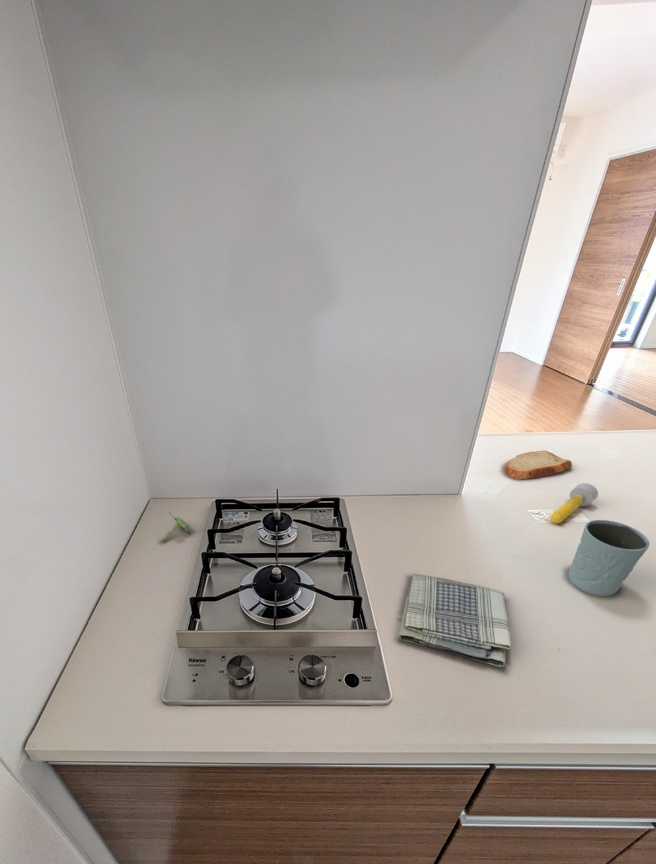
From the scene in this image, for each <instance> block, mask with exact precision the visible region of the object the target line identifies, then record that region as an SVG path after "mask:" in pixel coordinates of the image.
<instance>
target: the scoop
mask: <svg viewBox="0 0 656 864" xmlns="http://www.w3.org/2000/svg"><path fill="white" fill-rule="evenodd" d="M598 496H599V491H598V489H597V488H596V486H594V485H593V484H591V483H588V482H582V483H580V484H577V485H576V486H575V487H574V488H573V489H571V491H570V493H569V498H570V499H569V500H567V501H566V502H565V503H564V504H563V505H561V507H559V508H557V510H555V511H554V512H553V513H552V514H551V515H550V518H549V519H550V521H551V522H552V523H553V524H556V525H557V524H561V523H562V522H563V521H564V520H565V519H567V518H568V517H569V516H570V515H571V514H572V513H574V511H575V510H577V509H578V508H579V507H587V506H590V505H591V504H592V503H593V502H594V501H595V500H597V498H598Z"/></svg>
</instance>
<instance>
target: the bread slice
mask: <svg viewBox="0 0 656 864" xmlns="http://www.w3.org/2000/svg"><path fill="white" fill-rule="evenodd" d="M571 467H573V463H572V461H571V460H570V459H564V458H562V457H560V456H558V455H556V454H554V453H552V452H551V451H548V450H536V451H528V452H524V453H519V454H517V455H516V456H515V457H513V458H512V459H510V460H508V461H507V463H506V464H505V466H504V473H505V474H506V475H507V476H508V477H509V478H511V479H514V480H519V481H520V480H527V479H528V480H531V479H537V478H541V477H547V476H549V475H550V476H551V475H554V474H560V473H561V472H563V471H566V470H568V469H570V468H571Z"/></svg>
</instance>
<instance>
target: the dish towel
mask: <svg viewBox="0 0 656 864" xmlns="http://www.w3.org/2000/svg"><path fill="white" fill-rule="evenodd" d="M410 579H411V580H410V583H409V587H408V591H407V595H406V599H405V604H404V607H403V611H402V612H403V613H402V617H401V621H400V624H399V625H400V626H399V633H398V637H399V639H400V641H402V642H406V643H407V642H408V643H412V644H415V645H417V646H423V647H426V648H433V649H436V650H439V651H443V652H445V653H447V654H451V655H457V656H461V657H463V658H468V659H471V660H474V661H476V662H480V663H483V664H487V665H491V666H494V667H497V668H505V667H506V659H507V658H506V656H507V655H506V650H507V651H508V650H509V651H510V650H511V649H512V639H511V632H510V627H509V617H508V614H507V607H506V601H505V595H506V594H505V592H504V591H502V590H497V589H495V588H491V587H486V586H483V585H482V586H481V585H477V584H471V583H467V582H462V581H459V580H453V579H449V578H443V577H437V576H432V575H425V574H419V573H412V574H411V577H410Z"/></svg>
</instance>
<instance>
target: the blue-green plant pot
mask: <svg viewBox="0 0 656 864" xmlns="http://www.w3.org/2000/svg"><path fill="white" fill-rule="evenodd" d="M649 548H650V540H649V538H647V536H646V535H645V534H643V533H642V532H640V531H639V530H637V529H636V528H634V527H631V526H629V525H627V524H625V523H622V522H618V521H614V520H607V519H595V520H591V521H590V520H589V521H588V522H587V523H586V524H585V525H584V528H583V531H582V534H581V538H580V542H579V543H578V546H577V548H576V552H575V554H574V557H573V559H572V563H571V565H570V567H569V570H568V579H569V581H570V582H571V583H572V585H574V586H575V587H576V588H578V589H580V590H581V591H584V593H585V592H586V593H588V594H590V595H593V596H600V597H610V596H613V595H615V594H616V593H617V592H618V591H619V589H620V588H621V587H622V585H623V582H624V581H626V579H627V578H628V577H629V576H630V574H631V572H633V570H634V568H635V566H636V565H637V564H638V562H639V560H640V559H641V558H642V557H643V556H644V554H645V553H646V552H647V550H648V549H649Z"/></svg>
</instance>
